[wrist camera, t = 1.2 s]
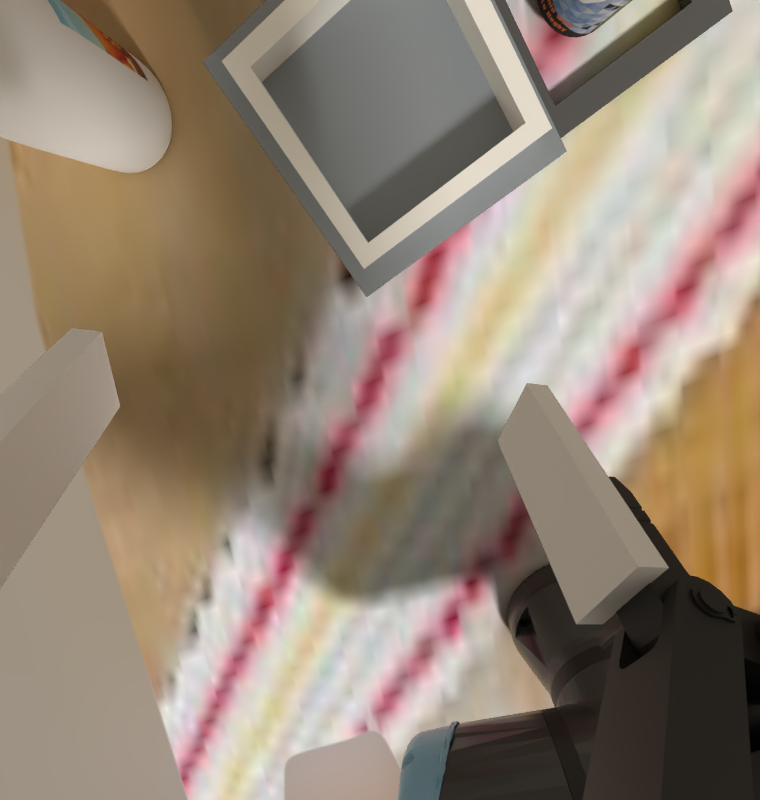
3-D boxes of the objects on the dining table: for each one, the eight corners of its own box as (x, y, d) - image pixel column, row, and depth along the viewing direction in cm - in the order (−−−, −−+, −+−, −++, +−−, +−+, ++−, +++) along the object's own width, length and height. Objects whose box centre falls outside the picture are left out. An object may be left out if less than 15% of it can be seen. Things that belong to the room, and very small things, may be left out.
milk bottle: (197, 134, 31) (-93, -41, 12) (123, 195, 32) (-236, 123, 14) (124, 26, 29) (-370, -394, 10) (48, 97, 30) (-505, -151, 11)
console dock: (518, 177, 32) (582, 142, 21) (371, 285, 35) (365, 300, 24) (410, -29, 27) (425, -196, 17) (253, 114, 30) (185, 45, 20)
